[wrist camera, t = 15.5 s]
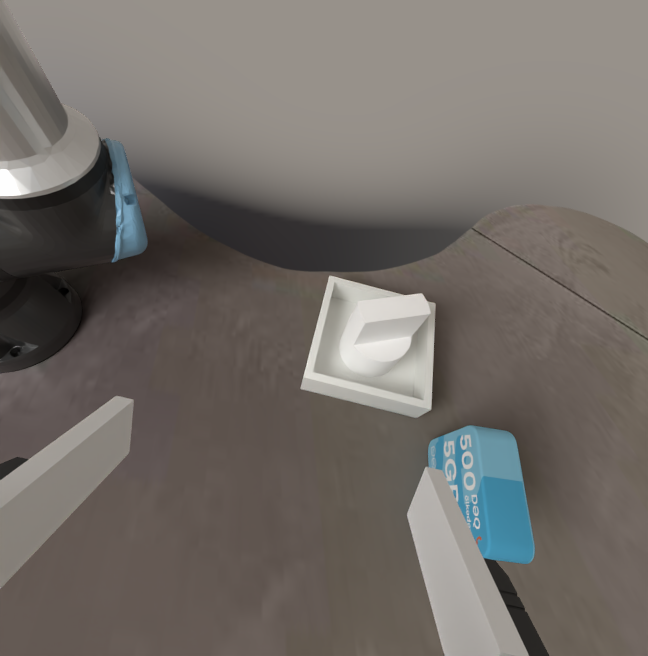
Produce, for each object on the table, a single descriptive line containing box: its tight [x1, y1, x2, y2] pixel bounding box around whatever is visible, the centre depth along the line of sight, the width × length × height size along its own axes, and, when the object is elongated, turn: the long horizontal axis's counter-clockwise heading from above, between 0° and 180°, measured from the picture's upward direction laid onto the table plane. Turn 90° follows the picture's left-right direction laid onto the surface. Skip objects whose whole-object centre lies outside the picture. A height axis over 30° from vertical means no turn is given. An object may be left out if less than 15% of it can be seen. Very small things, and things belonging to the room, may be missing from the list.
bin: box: [300, 276, 436, 418], centre depth 47 cm, size 17×17×5 cm
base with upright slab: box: [339, 293, 431, 377], centre depth 43 cm, size 9×9×12 cm
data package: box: [428, 425, 535, 564], centre depth 36 cm, size 12×4×12 cm, turn 173°
